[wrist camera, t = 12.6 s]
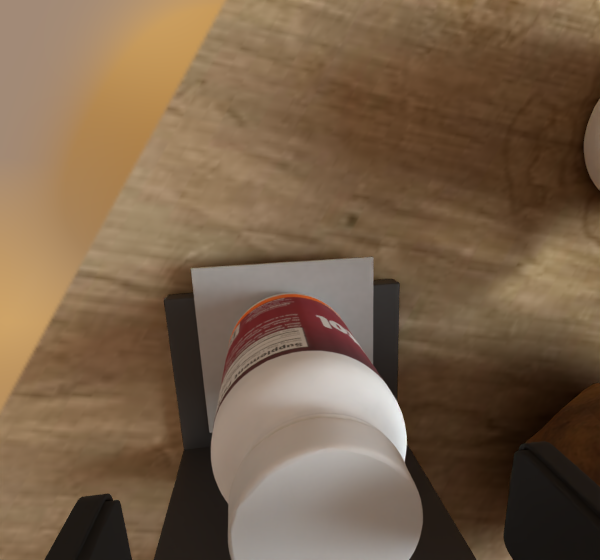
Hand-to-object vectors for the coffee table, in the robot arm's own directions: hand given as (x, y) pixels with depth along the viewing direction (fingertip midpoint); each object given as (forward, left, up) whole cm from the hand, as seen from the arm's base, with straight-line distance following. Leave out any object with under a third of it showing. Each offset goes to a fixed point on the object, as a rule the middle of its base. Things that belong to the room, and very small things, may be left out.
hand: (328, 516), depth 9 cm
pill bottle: (0, 0, -11) cm, 11 cm away
